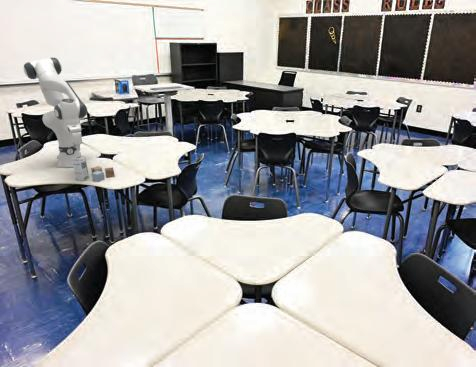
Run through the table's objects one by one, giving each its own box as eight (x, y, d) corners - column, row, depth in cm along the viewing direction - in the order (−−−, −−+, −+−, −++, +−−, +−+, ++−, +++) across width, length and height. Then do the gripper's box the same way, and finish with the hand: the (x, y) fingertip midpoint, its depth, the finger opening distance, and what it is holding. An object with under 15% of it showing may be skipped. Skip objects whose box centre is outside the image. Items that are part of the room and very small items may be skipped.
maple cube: (92, 174, 230) (90, 167, 228) (99, 172, 234) (98, 165, 232) (95, 176, 227) (94, 169, 225) (103, 174, 231) (101, 167, 229)
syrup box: (83, 180, 220) (79, 158, 214) (75, 180, 221) (71, 158, 215) (89, 177, 225) (85, 156, 220) (81, 177, 226) (77, 155, 221)
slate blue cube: (92, 180, 220) (91, 173, 218) (98, 178, 224) (97, 170, 222) (98, 182, 218) (97, 174, 216) (104, 179, 222) (103, 172, 220)
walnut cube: (105, 175, 228) (104, 168, 227) (113, 174, 230) (112, 167, 229) (106, 178, 224) (105, 170, 222) (114, 176, 226) (113, 169, 224)
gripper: (64, 124, 217) (68, 146, 222) (70, 130, 201) (74, 153, 206) (75, 123, 220) (79, 144, 225) (81, 128, 204) (86, 151, 209)
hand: (77, 148), depth 215 cm, fingers open, 8 cm apart
